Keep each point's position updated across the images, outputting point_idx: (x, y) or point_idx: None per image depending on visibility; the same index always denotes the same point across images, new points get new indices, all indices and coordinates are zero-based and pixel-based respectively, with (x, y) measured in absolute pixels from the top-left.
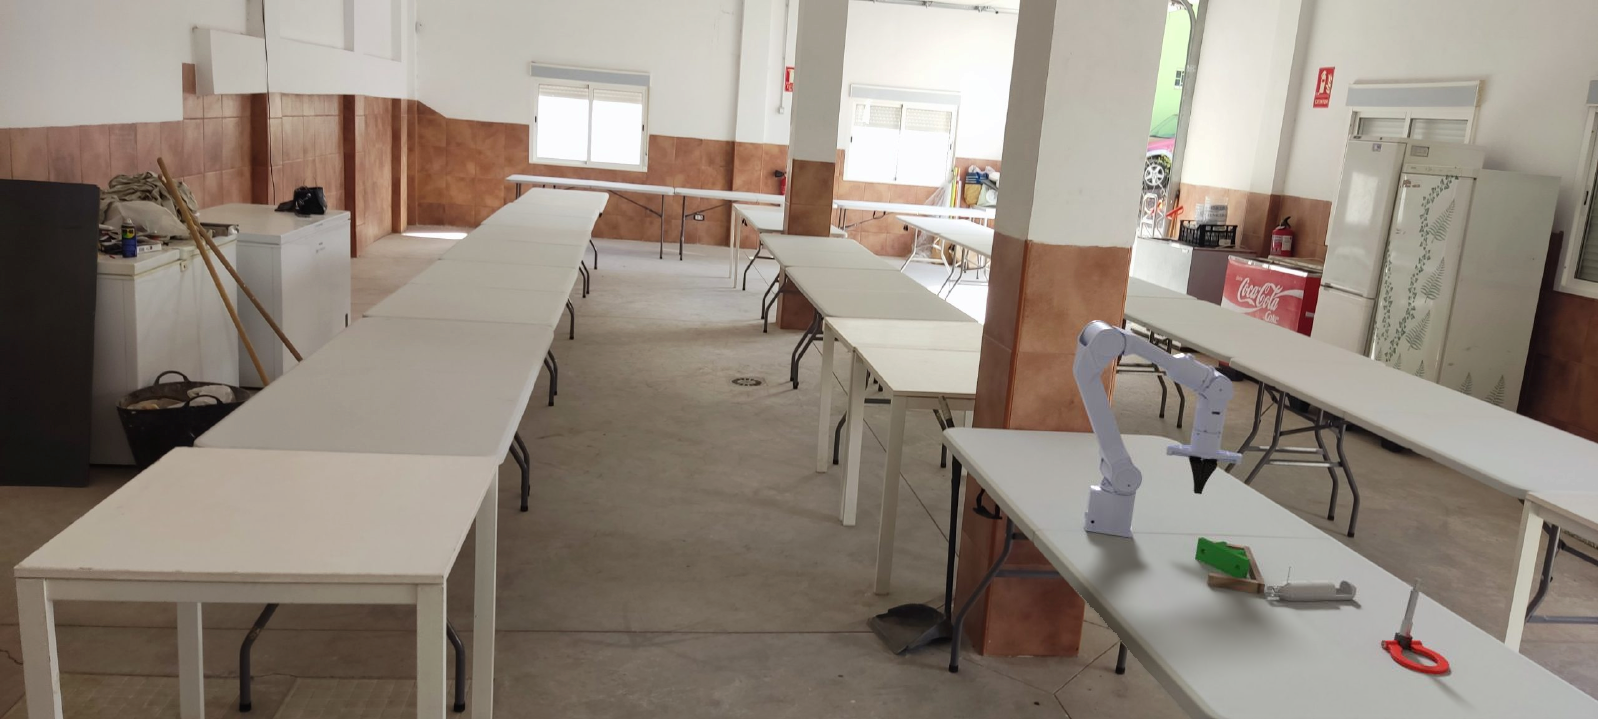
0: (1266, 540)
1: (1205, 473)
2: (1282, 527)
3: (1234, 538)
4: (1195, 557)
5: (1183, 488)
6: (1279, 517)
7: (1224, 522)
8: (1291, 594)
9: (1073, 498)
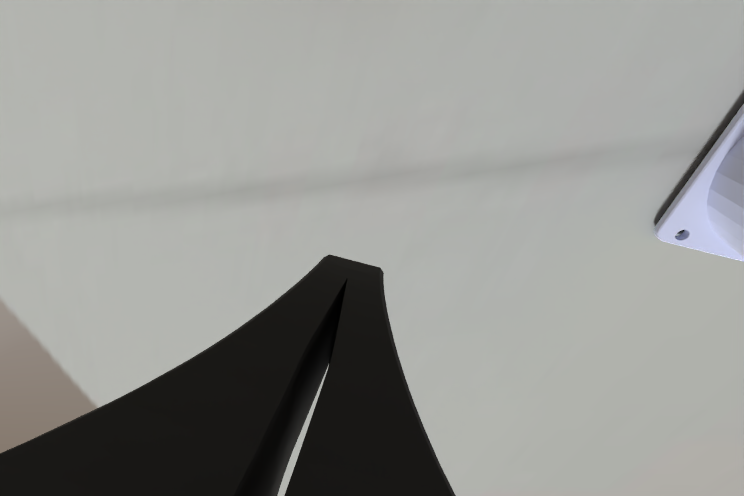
0: (87, 163)
1: (217, 428)
2: (51, 287)
3: (205, 161)
4: None
5: None
6: (69, 351)
7: (224, 306)
8: None
9: (712, 445)
